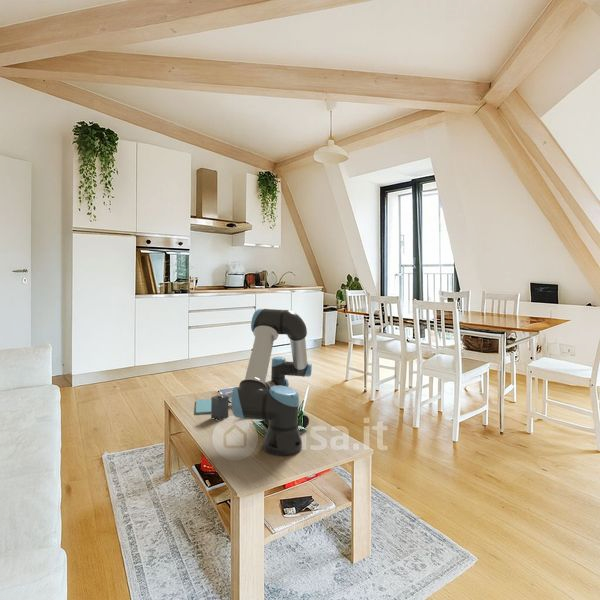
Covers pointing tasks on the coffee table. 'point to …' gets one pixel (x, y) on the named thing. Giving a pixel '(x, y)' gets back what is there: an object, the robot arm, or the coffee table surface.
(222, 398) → the lock block
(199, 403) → the teal cloth
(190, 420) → the coffee table surface
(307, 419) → the end cap
